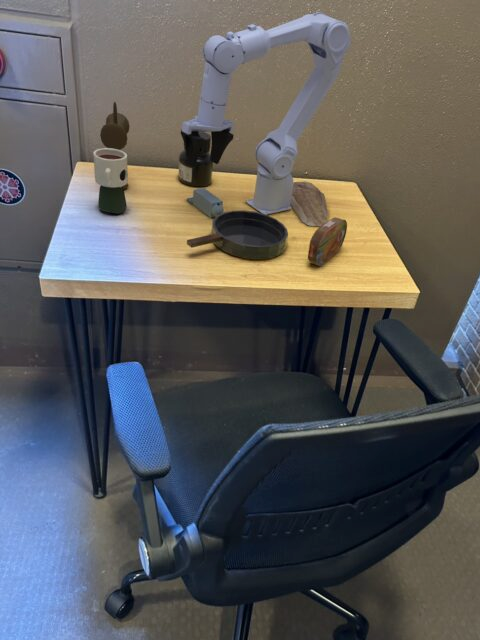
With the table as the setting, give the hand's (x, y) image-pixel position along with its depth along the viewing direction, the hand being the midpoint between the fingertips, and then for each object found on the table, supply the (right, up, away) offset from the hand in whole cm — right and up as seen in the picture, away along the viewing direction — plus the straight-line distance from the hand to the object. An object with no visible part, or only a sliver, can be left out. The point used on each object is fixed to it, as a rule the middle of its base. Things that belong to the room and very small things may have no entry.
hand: (202, 163), depth 121 cm
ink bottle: (-5, +3, +21) cm, 22 cm away
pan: (+11, -18, 0) cm, 21 cm away
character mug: (-21, -10, +1) cm, 24 cm away
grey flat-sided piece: (0, -8, +9) cm, 12 cm away
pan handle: (+2, -20, -8) cm, 22 cm away
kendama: (-23, -2, +11) cm, 25 cm away
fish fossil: (+25, -3, +21) cm, 33 cm away
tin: (+28, -22, 0) cm, 35 cm away
